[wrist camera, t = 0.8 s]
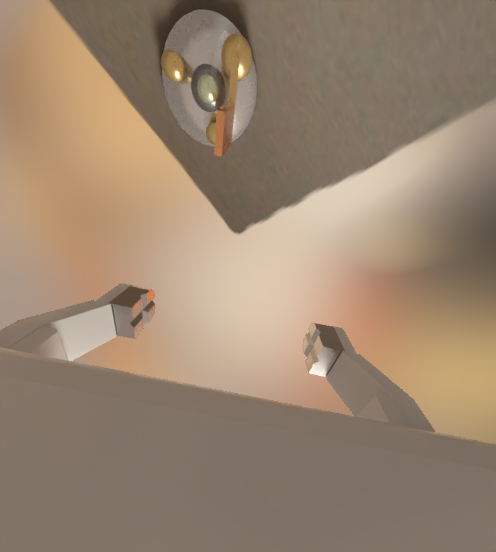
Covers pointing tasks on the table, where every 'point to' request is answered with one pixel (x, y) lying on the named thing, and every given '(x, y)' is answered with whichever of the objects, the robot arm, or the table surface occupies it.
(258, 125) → the table surface
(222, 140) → the vane knob
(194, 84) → the levelling base
